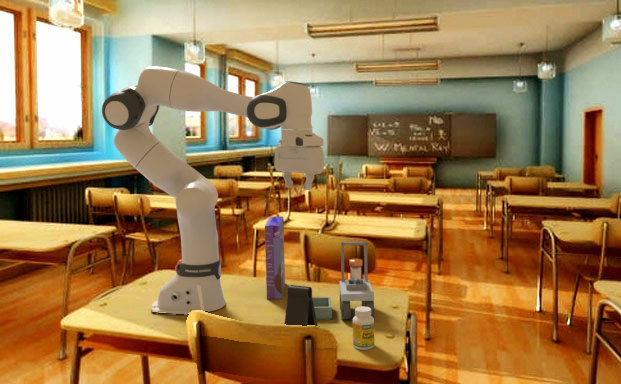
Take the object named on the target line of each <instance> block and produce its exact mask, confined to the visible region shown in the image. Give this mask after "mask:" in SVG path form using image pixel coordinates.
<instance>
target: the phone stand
mask: <svg viewBox="0 0 621 384" xmlns="http://www.w3.org/2000/svg"><path fill="white" fill-rule="evenodd" d="M312 297H313V289H312V287H311V286H305V285H297V284H296V285H295V284H290V285H288V286H287V300H286V301H287V302H286V308H285V316H284V317H285V318H284V324H286V325H302V326H307V325H318V322H317V321H318V320H316V315H315V310H314V305H313V299H312Z"/></svg>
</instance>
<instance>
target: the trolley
mask: <svg viewBox="0 0 621 384" xmlns="http://www.w3.org/2000/svg"><path fill="white" fill-rule="evenodd" d="M345 246H363V247H364V253H363V254H364V255H363V256H364V258H363V259H364V278H361V284H351V278H350V279H349V278H348V279H345ZM340 260H341V261H340V262H341V263H340V264H341V265H340V269H341V275H340V276H341V277H340V278H341V280H339V310H340V318H341V320H351V314H352V313H351V302H361V307H369V308H371V315H370V316H372V317H373V318H374V319H375V302H374V301H375V292H374V290H373V287H372V285H371V281H370V280H368V241H341V242H340Z"/></svg>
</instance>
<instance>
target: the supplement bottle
mask: <svg viewBox="0 0 621 384" xmlns="http://www.w3.org/2000/svg"><path fill="white" fill-rule="evenodd" d="M370 315H371V308H369V307H362V306H358V307H355V309H354V316H353V318H352V346H353V347H354V348H355V349H357V350H360V351H361V350H362V351H368V350H372V349H373V348H374V347H375V317H374V318H373V317H372V316H370Z"/></svg>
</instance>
